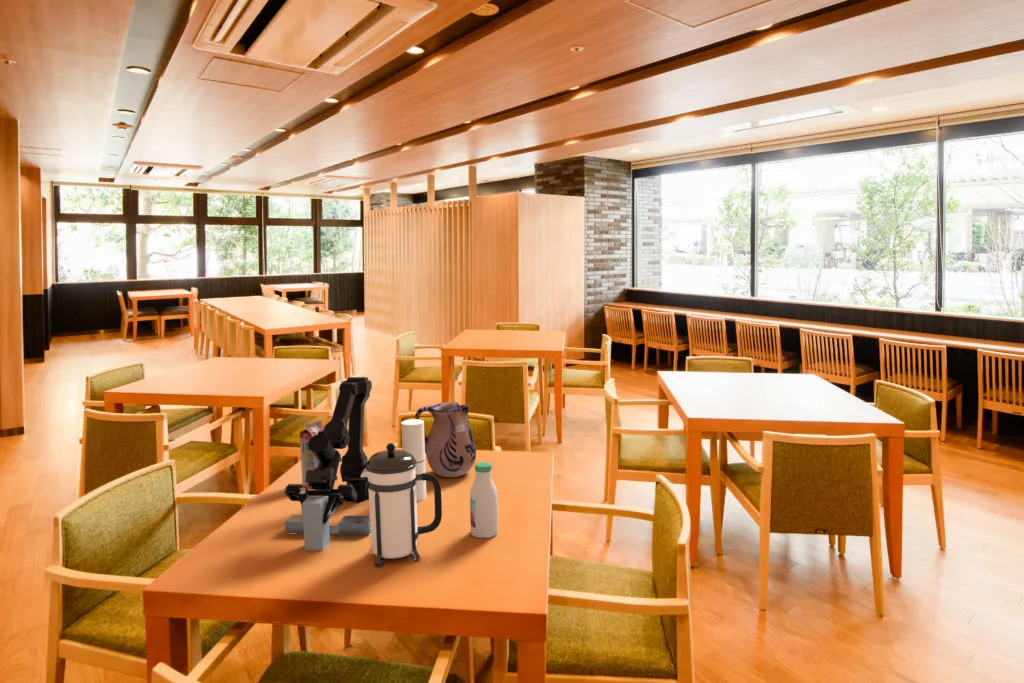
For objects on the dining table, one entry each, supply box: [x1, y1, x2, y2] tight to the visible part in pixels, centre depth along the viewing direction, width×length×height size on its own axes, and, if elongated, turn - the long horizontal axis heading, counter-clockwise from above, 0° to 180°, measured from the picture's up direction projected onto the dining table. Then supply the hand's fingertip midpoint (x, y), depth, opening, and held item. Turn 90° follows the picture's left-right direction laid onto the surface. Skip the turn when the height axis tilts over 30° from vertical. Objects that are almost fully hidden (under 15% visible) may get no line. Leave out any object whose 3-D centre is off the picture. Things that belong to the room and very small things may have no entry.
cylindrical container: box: [400, 418, 427, 502], centre depth 204 cm, size 7×7×25 cm
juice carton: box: [299, 420, 325, 489], centre depth 218 cm, size 7×7×22 cm
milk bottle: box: [469, 461, 499, 539], centre depth 177 cm, size 8×8×20 cm
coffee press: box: [361, 442, 443, 568], centre depth 165 cm, size 17×16×30 cm
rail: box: [284, 514, 371, 537], centre depth 181 cm, size 5×24×4 cm, turn 85°
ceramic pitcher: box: [414, 401, 477, 479], centre depth 226 cm, size 18×21×25 cm
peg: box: [301, 496, 331, 551], centre depth 171 cm, size 5×5×13 cm
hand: (314, 523), depth 169 cm, fingers closed on peg, 5 cm apart
